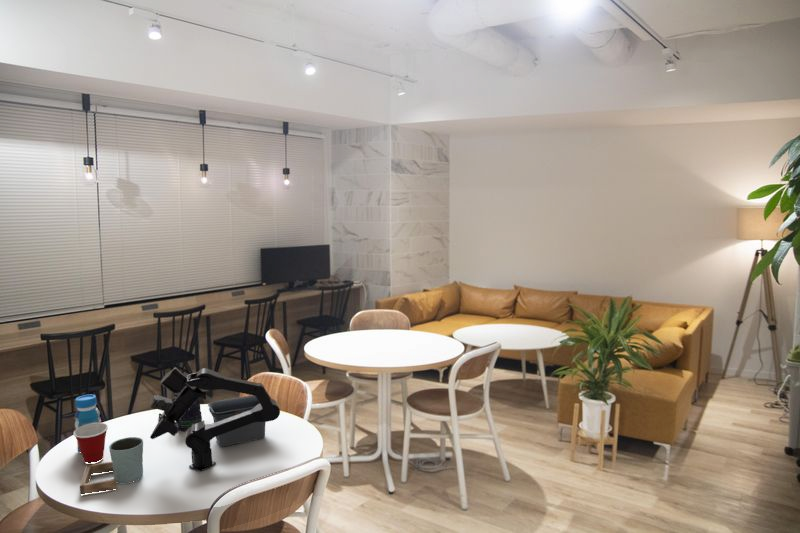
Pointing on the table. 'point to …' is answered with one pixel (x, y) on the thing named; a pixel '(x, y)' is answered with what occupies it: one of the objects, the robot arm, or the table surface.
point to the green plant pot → (127, 459)
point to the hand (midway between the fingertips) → (151, 438)
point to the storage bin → (232, 408)
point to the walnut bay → (100, 485)
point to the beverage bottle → (86, 411)
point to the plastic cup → (91, 441)
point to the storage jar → (190, 415)
